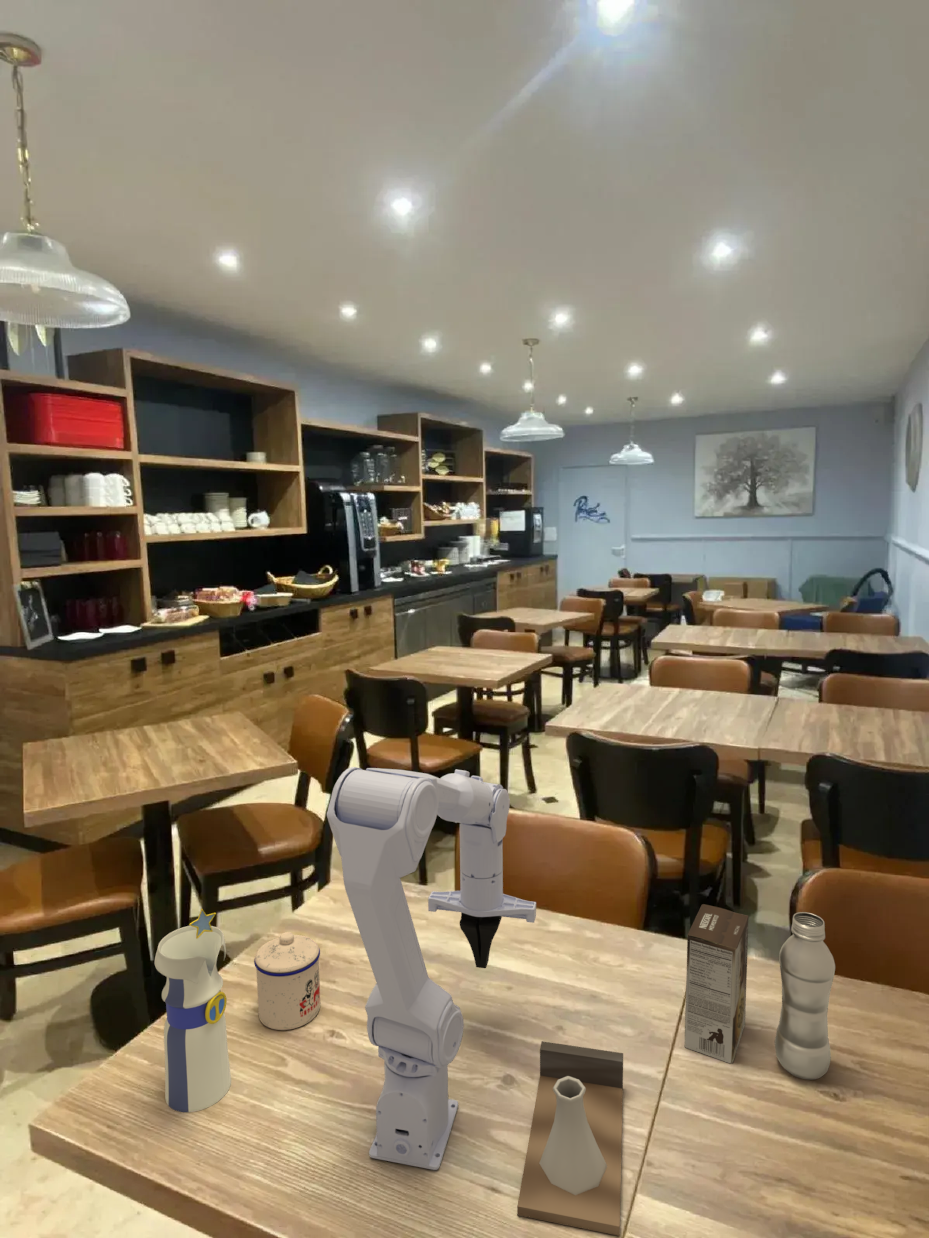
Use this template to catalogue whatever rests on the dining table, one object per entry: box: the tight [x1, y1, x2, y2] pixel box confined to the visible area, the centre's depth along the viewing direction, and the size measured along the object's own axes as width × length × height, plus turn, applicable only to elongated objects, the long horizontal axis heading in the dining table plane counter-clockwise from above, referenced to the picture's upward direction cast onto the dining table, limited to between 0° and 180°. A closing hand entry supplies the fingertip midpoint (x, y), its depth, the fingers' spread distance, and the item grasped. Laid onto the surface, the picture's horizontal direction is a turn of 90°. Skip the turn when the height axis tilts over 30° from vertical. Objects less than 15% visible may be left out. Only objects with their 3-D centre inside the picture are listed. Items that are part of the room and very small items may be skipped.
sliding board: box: [516, 1041, 624, 1237], centre depth 81 cm, size 20×10×4 cm, turn 167°
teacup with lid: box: [253, 931, 321, 1031], centre depth 105 cm, size 12×9×12 cm
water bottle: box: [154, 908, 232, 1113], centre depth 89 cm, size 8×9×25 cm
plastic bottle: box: [774, 911, 836, 1081], centre depth 91 cm, size 6×7×20 cm
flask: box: [539, 1076, 607, 1195], centre depth 77 cm, size 7×7×10 cm
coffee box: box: [684, 903, 749, 1064], centre depth 98 cm, size 9×6×16 cm
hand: (482, 963), depth 100 cm, fingers closed
